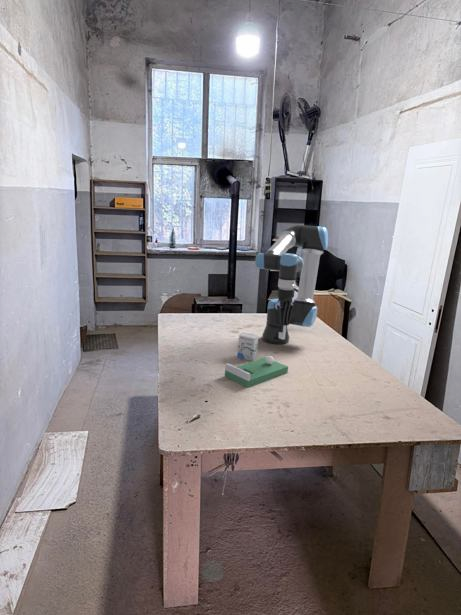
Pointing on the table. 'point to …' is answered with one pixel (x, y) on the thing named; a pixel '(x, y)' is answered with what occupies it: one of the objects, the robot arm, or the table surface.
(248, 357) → the ink box
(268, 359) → the ball
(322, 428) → the table surface
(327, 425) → the table surface
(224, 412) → the table surface
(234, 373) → the putting deck
